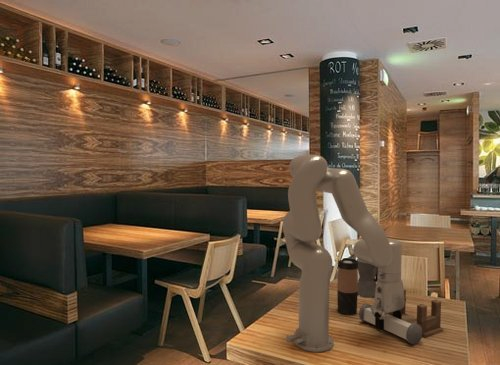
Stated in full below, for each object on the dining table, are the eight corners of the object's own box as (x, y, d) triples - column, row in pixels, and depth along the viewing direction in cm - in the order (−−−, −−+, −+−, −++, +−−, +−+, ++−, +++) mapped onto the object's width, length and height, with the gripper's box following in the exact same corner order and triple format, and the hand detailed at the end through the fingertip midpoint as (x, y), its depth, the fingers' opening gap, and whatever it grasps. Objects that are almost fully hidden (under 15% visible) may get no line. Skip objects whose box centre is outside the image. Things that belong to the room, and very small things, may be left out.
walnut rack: (443, 330, 129) (443, 302, 129) (424, 337, 124) (425, 308, 123) (398, 313, 144) (399, 287, 144) (380, 318, 139) (380, 292, 139)
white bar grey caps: (421, 343, 121) (423, 323, 121) (408, 346, 117) (410, 325, 117) (370, 320, 139) (371, 302, 139) (358, 322, 135) (359, 304, 135)
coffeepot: (349, 290, 171) (350, 251, 170) (367, 288, 173) (367, 249, 172) (369, 302, 156) (370, 259, 155) (388, 299, 159) (389, 257, 158)
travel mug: (358, 316, 141) (359, 263, 140) (337, 314, 143) (338, 262, 142) (356, 308, 149) (357, 258, 148) (336, 307, 150) (337, 257, 149)
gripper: (380, 283, 119) (379, 337, 120) (415, 275, 128) (414, 325, 129) (362, 277, 126) (361, 328, 127) (396, 269, 135) (395, 317, 136)
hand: (388, 326), depth 128 cm, fingers open, 8 cm apart
